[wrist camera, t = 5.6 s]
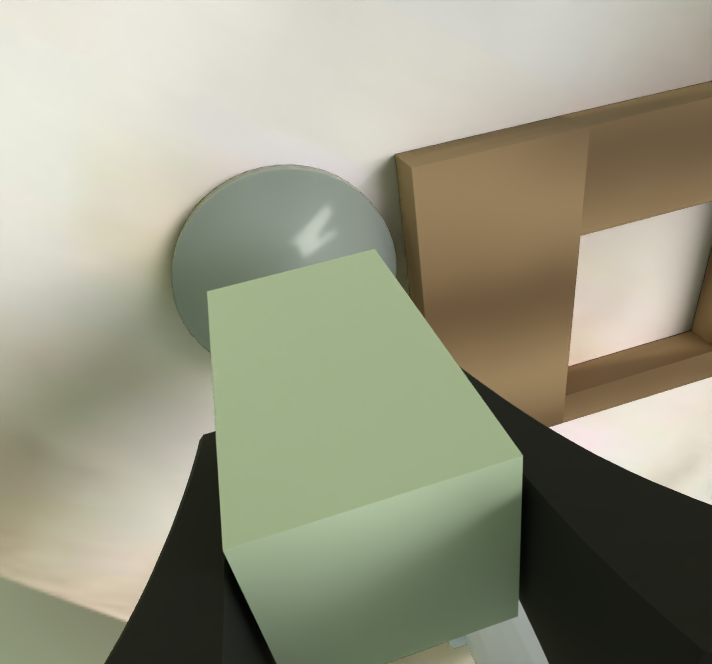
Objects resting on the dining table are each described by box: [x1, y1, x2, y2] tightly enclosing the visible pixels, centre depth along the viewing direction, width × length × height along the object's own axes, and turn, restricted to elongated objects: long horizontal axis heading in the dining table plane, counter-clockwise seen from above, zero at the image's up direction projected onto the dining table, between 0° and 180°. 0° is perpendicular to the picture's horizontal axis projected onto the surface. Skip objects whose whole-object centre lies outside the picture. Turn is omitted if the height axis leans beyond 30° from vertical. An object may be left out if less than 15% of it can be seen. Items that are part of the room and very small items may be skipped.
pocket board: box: [395, 81, 712, 427], centre depth 20 cm, size 12×16×2 cm
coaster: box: [172, 165, 397, 353], centre depth 17 cm, size 7×7×1 cm
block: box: [207, 249, 523, 664], centre depth 11 cm, size 4×4×7 cm
